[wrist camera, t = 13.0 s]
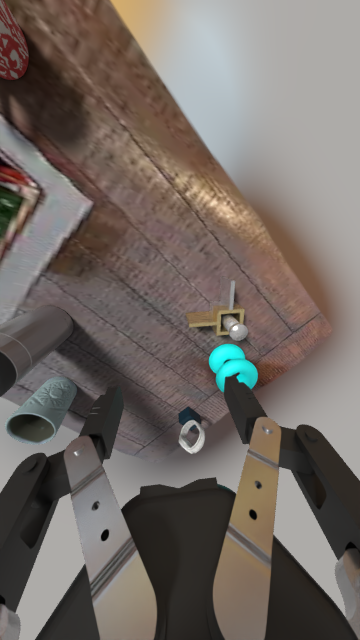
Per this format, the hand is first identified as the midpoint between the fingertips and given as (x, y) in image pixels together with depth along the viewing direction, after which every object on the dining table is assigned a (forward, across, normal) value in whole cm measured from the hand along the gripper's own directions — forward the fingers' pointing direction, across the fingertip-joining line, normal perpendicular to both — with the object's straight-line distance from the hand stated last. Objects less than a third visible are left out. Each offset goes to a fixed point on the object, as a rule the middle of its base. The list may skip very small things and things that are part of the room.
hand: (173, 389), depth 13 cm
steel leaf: (+30, -13, +2) cm, 33 cm away
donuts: (+30, -15, +19) cm, 39 cm away
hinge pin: (+30, -13, +5) cm, 33 cm away
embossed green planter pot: (+30, +32, +25) cm, 51 cm away
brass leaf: (+30, -10, +5) cm, 32 cm away
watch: (+30, -4, +40) cm, 50 cm away
